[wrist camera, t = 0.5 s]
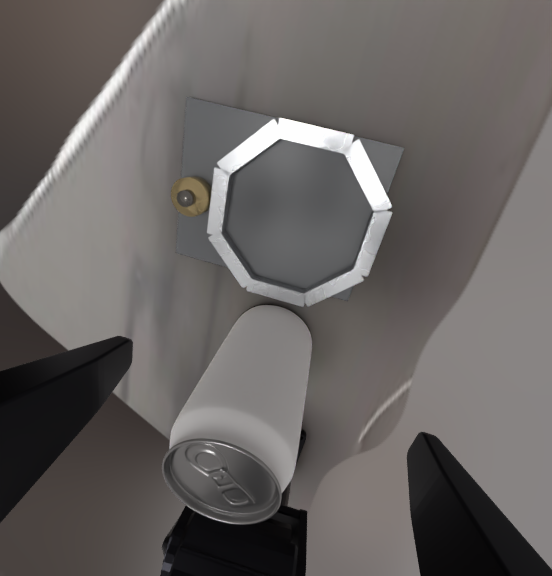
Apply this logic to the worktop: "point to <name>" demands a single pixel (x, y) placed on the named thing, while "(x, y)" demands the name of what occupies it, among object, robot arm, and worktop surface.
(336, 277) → the socket
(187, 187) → the brass round knob
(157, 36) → the worktop surface
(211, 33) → the worktop surface
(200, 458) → the can
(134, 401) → the worktop surface
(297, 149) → the carrier plate
